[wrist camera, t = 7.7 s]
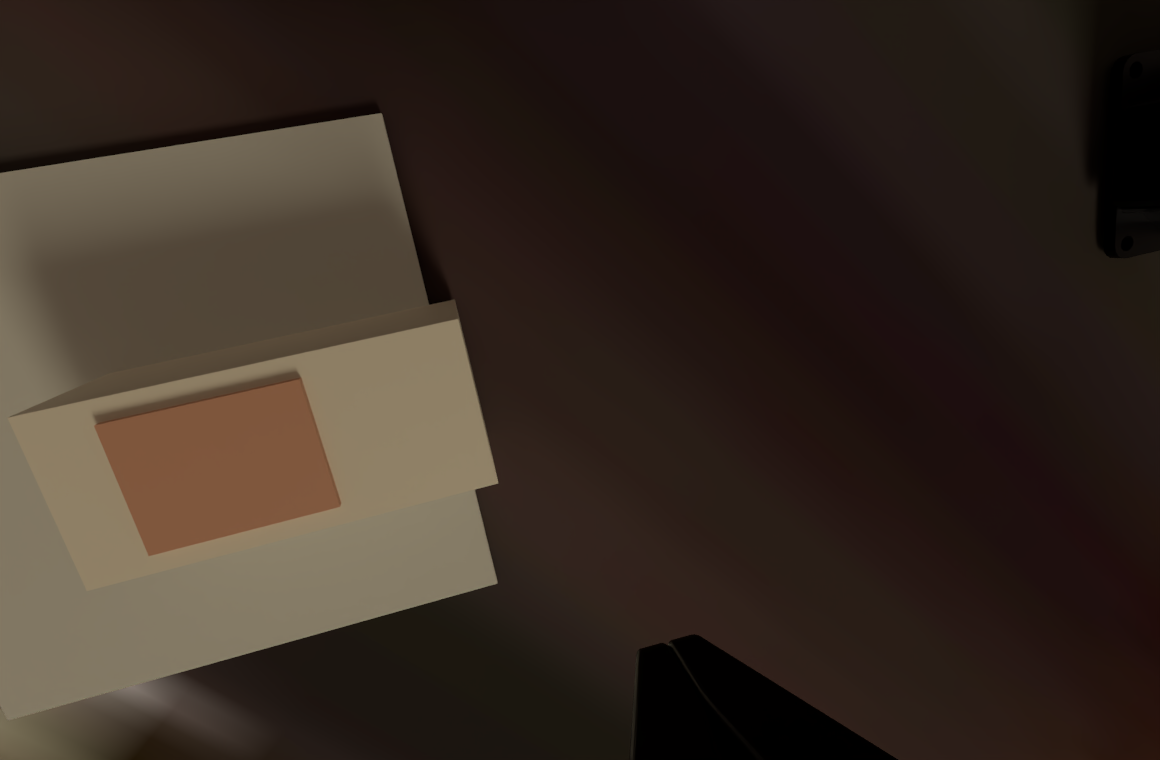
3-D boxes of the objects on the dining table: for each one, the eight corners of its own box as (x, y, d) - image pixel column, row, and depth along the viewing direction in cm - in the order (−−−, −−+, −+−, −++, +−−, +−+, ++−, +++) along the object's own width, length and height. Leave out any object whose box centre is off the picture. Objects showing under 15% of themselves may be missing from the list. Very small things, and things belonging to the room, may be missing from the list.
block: (458, 320, 14) (0, 420, 12) (498, 486, 15) (81, 596, 13) (454, 299, 18) (108, 373, 16) (486, 431, 19) (164, 511, 17)
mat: (382, 114, 17) (381, 113, 16) (496, 578, 20) (497, 583, 20) (-242, 213, 14) (-257, 213, 14) (15, 712, 18) (7, 720, 18)
